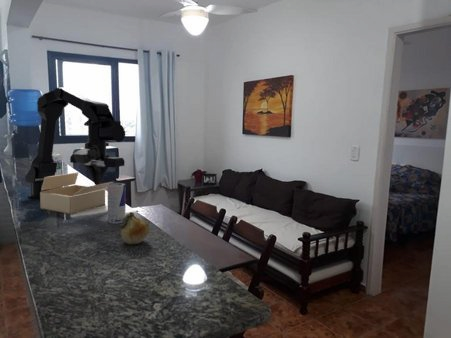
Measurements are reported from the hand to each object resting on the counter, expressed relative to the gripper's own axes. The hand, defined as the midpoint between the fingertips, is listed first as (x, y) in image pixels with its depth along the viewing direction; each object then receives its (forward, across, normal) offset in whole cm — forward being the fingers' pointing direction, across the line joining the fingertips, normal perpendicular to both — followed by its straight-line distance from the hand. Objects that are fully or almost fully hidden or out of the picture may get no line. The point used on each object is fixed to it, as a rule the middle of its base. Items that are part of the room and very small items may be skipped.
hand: (97, 184), depth 115 cm
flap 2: (+1, -1, 0) cm, 2 cm away
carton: (+9, -10, 0) cm, 14 cm away
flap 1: (0, -16, 0) cm, 16 cm away
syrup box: (+9, -47, +25) cm, 54 cm away
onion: (+9, +30, -20) cm, 37 cm away
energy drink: (+9, +14, -7) cm, 18 cm away
